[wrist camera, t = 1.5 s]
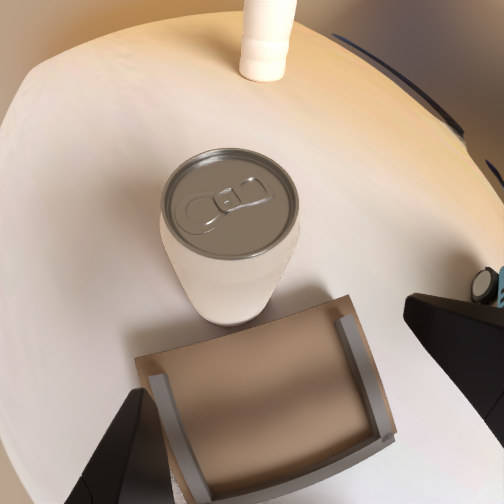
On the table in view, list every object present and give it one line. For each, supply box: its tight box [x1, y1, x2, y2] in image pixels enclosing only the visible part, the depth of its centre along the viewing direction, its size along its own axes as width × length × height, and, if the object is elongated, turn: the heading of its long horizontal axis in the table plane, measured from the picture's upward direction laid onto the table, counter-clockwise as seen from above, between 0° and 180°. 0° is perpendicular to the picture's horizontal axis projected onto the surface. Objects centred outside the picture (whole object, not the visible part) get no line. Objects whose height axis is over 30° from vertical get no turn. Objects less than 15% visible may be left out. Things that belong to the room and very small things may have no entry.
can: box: [160, 148, 300, 326], centre depth 16 cm, size 6×6×12 cm
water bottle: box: [239, 0, 297, 82], centre depth 25 cm, size 7×7×25 cm
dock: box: [134, 294, 397, 504], centre depth 16 cm, size 12×16×4 cm
